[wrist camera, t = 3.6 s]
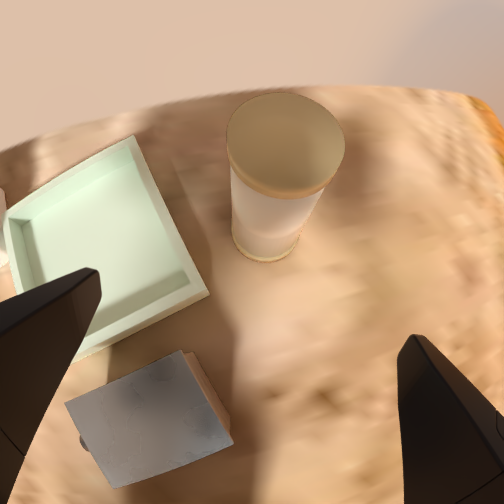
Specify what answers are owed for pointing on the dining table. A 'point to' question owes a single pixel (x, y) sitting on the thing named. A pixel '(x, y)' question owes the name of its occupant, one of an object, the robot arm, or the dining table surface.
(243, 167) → the fuse
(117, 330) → the tray
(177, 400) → the box
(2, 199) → the medicine bottle
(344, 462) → the dining table surface
